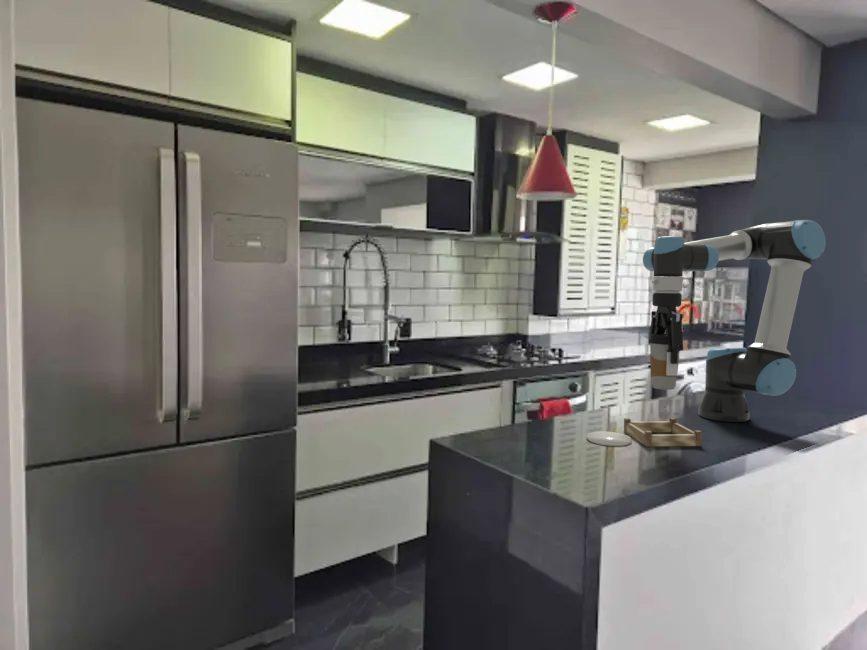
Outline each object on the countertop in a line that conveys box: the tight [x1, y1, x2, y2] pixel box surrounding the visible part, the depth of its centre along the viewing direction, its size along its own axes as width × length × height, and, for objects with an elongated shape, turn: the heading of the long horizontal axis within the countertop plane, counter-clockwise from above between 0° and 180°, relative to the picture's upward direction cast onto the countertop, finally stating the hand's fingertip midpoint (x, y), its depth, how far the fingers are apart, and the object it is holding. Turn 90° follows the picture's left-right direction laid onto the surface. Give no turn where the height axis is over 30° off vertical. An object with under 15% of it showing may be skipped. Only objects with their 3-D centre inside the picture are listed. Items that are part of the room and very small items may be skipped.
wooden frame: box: [623, 417, 703, 448], centre depth 162 cm, size 15×15×4 cm
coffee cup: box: [648, 333, 681, 391], centre depth 160 cm, size 8×8×15 cm
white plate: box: [586, 430, 633, 447], centre depth 160 cm, size 12×12×1 cm
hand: (663, 372), depth 161 cm, fingers closed on coffee cup, 8 cm apart
